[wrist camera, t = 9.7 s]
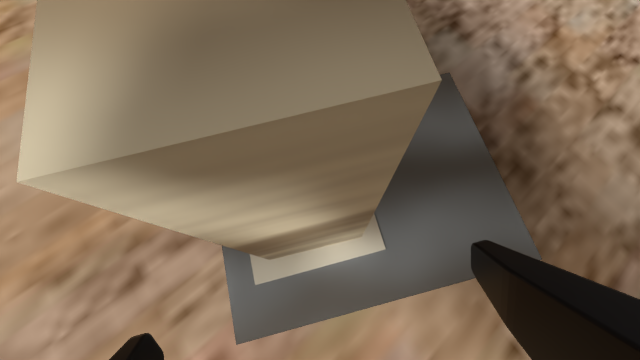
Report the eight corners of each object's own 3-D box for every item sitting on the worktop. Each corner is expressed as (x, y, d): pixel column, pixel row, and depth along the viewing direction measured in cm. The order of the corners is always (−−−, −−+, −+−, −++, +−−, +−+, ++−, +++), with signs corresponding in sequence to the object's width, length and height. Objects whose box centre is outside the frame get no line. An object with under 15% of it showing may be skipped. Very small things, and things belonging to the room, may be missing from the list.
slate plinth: (519, 261, 17) (546, 258, 15) (248, 337, 17) (234, 345, 14) (439, 91, 21) (451, 69, 19) (218, 149, 21) (203, 133, 18)
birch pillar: (361, 237, 16) (441, 80, 3) (269, 259, 16) (15, 181, 3) (338, 153, 17) (335, -156, 5) (254, 173, 17) (47, -92, 5)
